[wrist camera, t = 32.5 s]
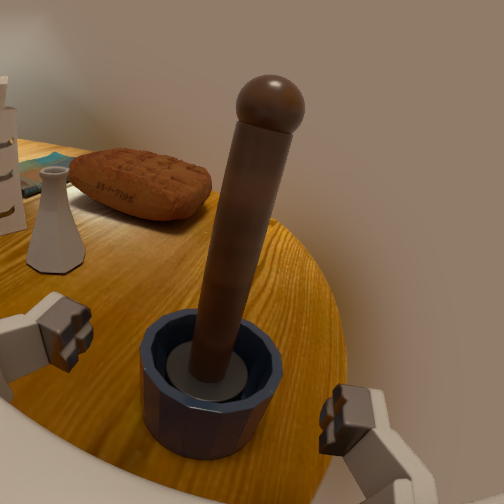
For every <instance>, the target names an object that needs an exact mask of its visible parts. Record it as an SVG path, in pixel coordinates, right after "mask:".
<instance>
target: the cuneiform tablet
mask: <svg viewBox="0 0 504 504" xmlns="http://www.w3.org/2000/svg"><path fill="white" fill-rule="evenodd" d="M69 169H70V171H69V174H68V178H69V180H70V182H71V183H72V184H73V185H74V186H75V187H76V188H78V189H79V190H80V191H81V192H83V193H84V194H86V195H87V196H89V197H91V198H93V199H95V200H96V201H99V202H101V203H103V204H105V205H107V206H109V207H111V208H114V209H116V210H118V211H121V212H124V213H127V214H129V215H132V216H136V217H139V218H143V219H149V220H157V221H169V220H174V219H187V218H189V217H190V216H192V215H193V214H194V213H195V211H196V210H197V209H198V207H199V206H201V205H203V204H204V202H205V200H207V198H208V197H209V195H210V193H211V190H212V181H211V176H210V174H209V173H208V171H207V170H206V169H205V168H203V167H200V166H196V165H194V164H189V163H186V162H184V161H182V160H178V159H177V158H174V157H170V156H166V155H157V154H155V153H152V152H148V151H140V150H139V151H138V150H133V149H127V148H117V149H112V150H104V151H98V152H93V153H90V154H86V155H81V156H78V157H76V158H74V159H73V160H72V161H71V162H70V164H69Z"/></svg>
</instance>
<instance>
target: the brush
mask: <svg viewBox="0 0 504 504" xmlns="http://www.w3.org/2000/svg"><path fill="white" fill-rule="evenodd" d="M236 113H237V117H238V119H239V121H237V124H236V127H235V131H234V135H233V139H232V144H231V148H230V153H229V157H228V161H227V165H226V170H225V174H224V179H223V183H222V188H221V192H220V197H219V202H218V206H217V211H216V216H215V221H214V226H213V231H212V236H211V241H210V246H209V251H208V256H207V261H206V266H205V272H204V277H203V282H202V288H201V293H200V299H199V304H198V310H197V316H196V322H195V328H194V334H193V340H192V341H189V342H185V343H183V344H180V345H179V346H177V347H176V348H174V349H173V350H172V351H171V353H170V354H169V356H168V357H167V360H166V366H165V381H166V382H167V383H168V384H169V385H170V386H172V387H174V388H175V389H177V390H179V391H180V392H182V393H184V394H186V395H188V396H189V397H191V398H193V399H198V400H203V401H208V402H214V403H220V404H221V403H228V402H234V401H240V400H241V398H242V395H243V392H244V390H245V387H246V384H247V381H248V371H247V367H246V365H245V363H244V361H243V360H242V358H241V357H240V356H239V355H238V354H237V353H236V352H234V351H233V348H234V344H235V341H236V337H237V334H238V331H239V327H240V324H241V320H242V317H243V313H244V310H245V306H246V303H247V299H248V296H249V292H250V289H251V285H252V282H253V278H254V274H255V271H256V267H257V264H258V260H259V257H260V253H261V250H262V246H263V243H264V239H265V235H266V232H267V228H268V225H269V221H270V218H271V214H272V210H273V207H274V203H275V200H276V196H277V192H278V188H279V185H280V181H281V178H282V174H283V171H284V167H285V163H286V160H287V156H288V152H289V149H290V145H291V142H292V138H293V135H292V133H293V132H294V131H295V130H296V129H297V128H298V127H299V126H300V124H301V122H302V120H303V117H304V113H305V103H304V98H303V96H302V94H301V92H300V90H299V89H298V88H297V86H296V85H295V84H294V83H292V82H291V81H290V80H288V79H286V78H284V77H281V76H277V75H263V76H259V77H256V78H254V79H252V80H251V81H249V82H248V83H247V84H246V85H245V86H244V87H243V88H242V89H241V91H240V93H239V95H238V97H237V101H236Z"/></svg>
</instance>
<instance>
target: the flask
mask: <svg viewBox="0 0 504 504" xmlns="http://www.w3.org/2000/svg"><path fill="white" fill-rule="evenodd" d="M69 171H70V169H69V168H65V167H58V166H51V167H47V168H43V169H42V170H41V171H40V172H39V176H40V177H41V178H42V192H41V198H40V205H39V210H38V214H37V217H36V221H35V225H34V229H33V233H32V237H31V241H30V245H29V249H28V253H27V258H26V263H28V264H29V265H31V266H32V267H34V268H35V269H37V270H38V271H40V272H53V273H66V272H67V271H69V270H71V269H72V268H74V267H76V266H77V265H79V264H81V263H82V262H83V258H84V254H85V250H86V249H85V247H84V244H83V242H82V239H81V237H80V234H79V232H78V230H77V227H76V224H75V222H74V219H73V216H72V213H71V210H70V207H69V204H68V197H67V190H66V178H67V175H68V174H69Z"/></svg>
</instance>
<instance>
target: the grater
mask: <svg viewBox="0 0 504 504" xmlns="http://www.w3.org/2000/svg"><path fill="white" fill-rule="evenodd" d="M7 82H8V76H0V213H2V212H6V211H9V210H10V209H11V208H12V206H14V208H15V212H14V213H12V214H11V215H10V216H7V217H3V218H0V236H1V235H5V234H9V233H12V232H16V231H20V230H24V229H27V224H26V219H25V213H24V206H23V199H22V192H21V184H20V174H19V163H18V148H17V109H16V108H12V107H4V104H5V96H6V89H7ZM13 136H14V137H13ZM11 138H12V139H13V144H11V143H10V139H11ZM11 170H12V172H11ZM12 173H13V175H12Z"/></svg>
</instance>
